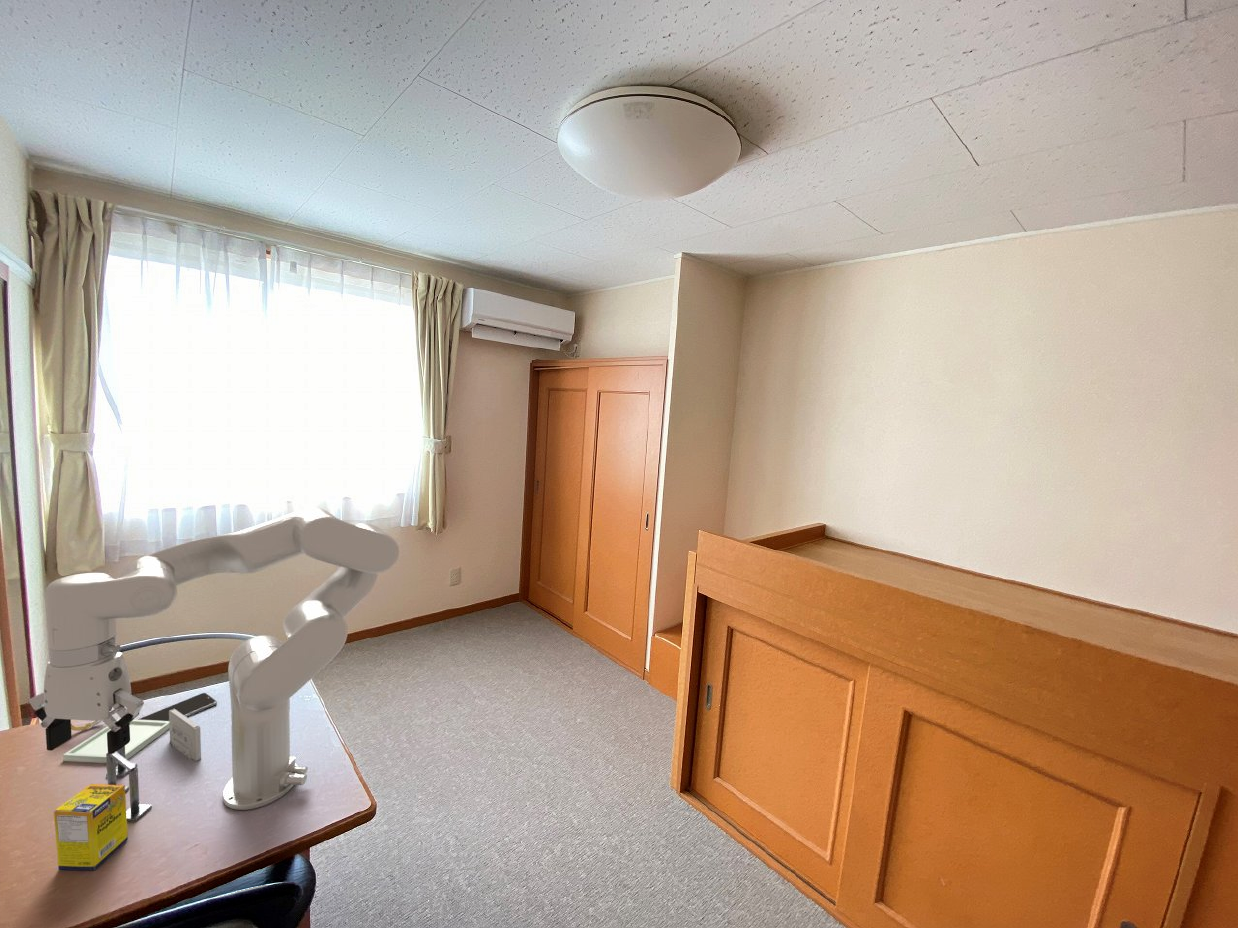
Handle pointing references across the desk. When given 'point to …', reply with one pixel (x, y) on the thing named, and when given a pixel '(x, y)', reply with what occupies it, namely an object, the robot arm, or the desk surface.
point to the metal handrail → (120, 771)
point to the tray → (139, 738)
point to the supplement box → (91, 827)
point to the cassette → (185, 735)
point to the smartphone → (184, 707)
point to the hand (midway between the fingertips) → (89, 746)
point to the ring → (87, 726)
